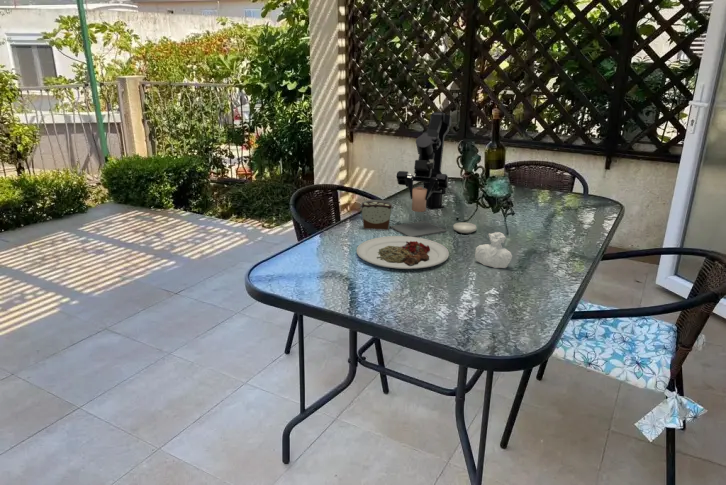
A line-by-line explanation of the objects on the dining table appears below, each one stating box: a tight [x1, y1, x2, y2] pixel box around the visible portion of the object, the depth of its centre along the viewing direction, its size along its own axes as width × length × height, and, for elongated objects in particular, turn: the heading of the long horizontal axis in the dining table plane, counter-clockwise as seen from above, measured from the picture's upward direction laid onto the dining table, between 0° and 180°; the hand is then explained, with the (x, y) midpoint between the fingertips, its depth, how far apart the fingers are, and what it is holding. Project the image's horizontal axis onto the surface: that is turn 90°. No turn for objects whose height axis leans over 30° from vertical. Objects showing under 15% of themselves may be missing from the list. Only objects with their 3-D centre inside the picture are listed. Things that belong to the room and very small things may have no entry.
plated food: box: [356, 235, 450, 270], centre depth 173 cm, size 30×30×3 cm
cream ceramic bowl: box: [452, 221, 477, 234], centre depth 198 cm, size 8×8×2 cm
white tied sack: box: [474, 231, 513, 269], centre depth 166 cm, size 12×8×11 cm
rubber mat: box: [389, 220, 447, 238], centre depth 199 cm, size 16×14×1 cm
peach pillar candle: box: [411, 185, 427, 213], centre depth 195 cm, size 5×5×9 cm
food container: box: [359, 199, 394, 231], centre depth 200 cm, size 12×6×10 cm, turn 84°
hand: (418, 198), depth 194 cm, fingers closed on peach pillar candle, 5 cm apart
